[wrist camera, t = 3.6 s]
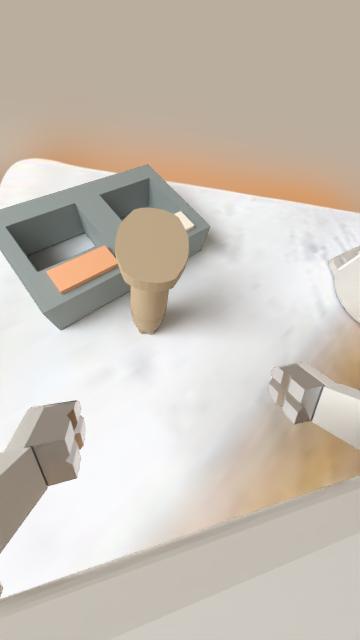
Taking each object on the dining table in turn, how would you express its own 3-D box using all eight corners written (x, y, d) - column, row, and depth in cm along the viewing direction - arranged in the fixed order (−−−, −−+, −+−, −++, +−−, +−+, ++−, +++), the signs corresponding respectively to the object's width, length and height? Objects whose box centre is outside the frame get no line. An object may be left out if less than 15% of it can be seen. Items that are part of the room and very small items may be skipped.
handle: (166, 304, 29) (189, 214, 15) (163, 348, 26) (188, 287, 13) (131, 301, 28) (123, 202, 15) (125, 346, 26) (107, 277, 12)
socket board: (147, 193, 37) (147, 160, 32) (200, 250, 34) (211, 222, 29) (4, 247, 28) (-27, 211, 23) (60, 330, 25) (39, 310, 20)
